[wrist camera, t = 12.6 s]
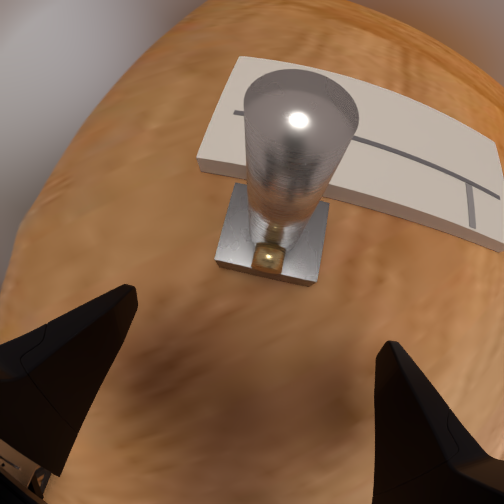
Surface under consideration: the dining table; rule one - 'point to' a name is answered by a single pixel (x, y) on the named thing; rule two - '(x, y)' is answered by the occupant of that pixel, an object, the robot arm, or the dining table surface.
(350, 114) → the grey piece
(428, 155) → the board
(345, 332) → the dining table surface
